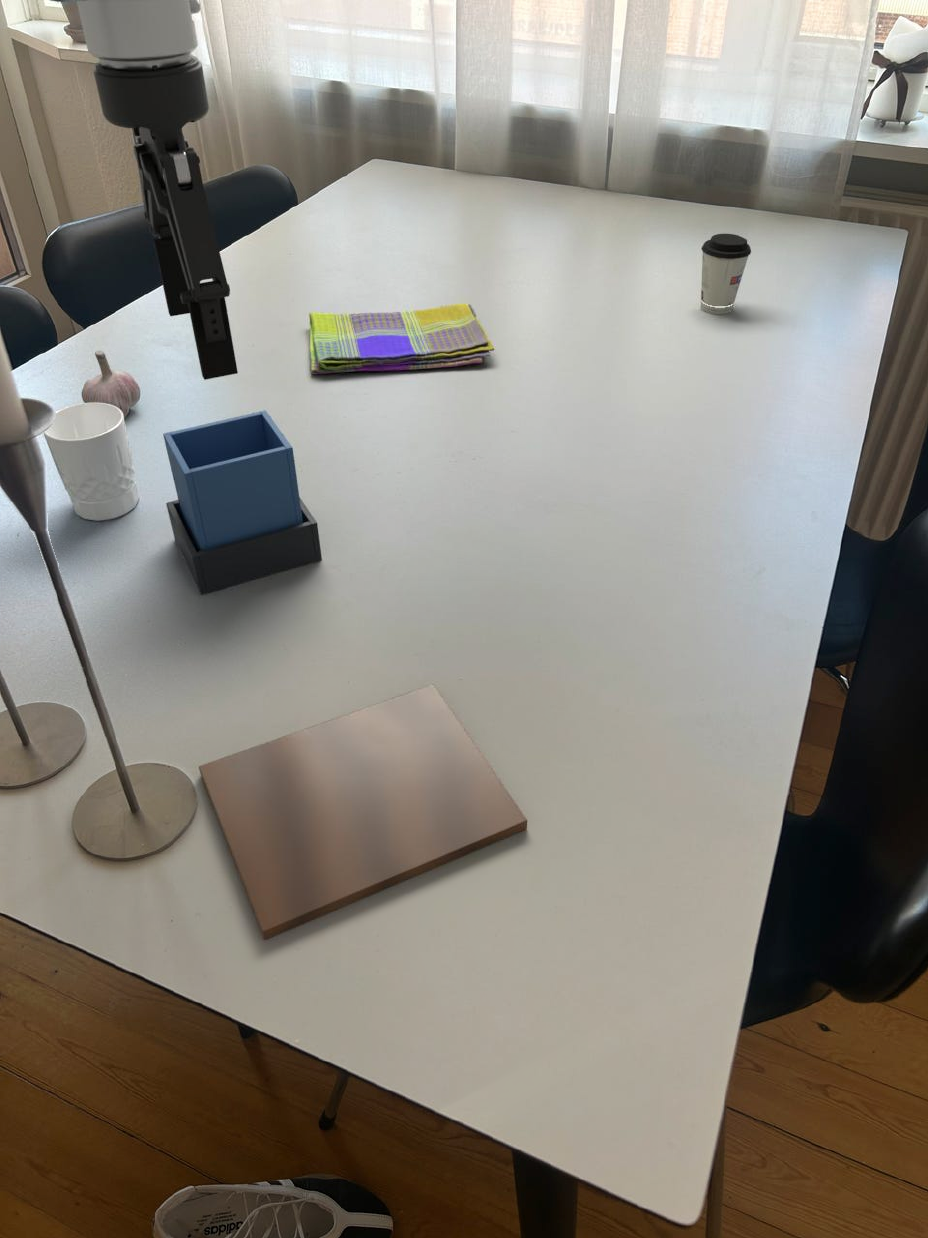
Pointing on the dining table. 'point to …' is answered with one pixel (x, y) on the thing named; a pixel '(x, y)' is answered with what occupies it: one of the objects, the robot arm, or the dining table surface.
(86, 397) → the garlic bulb
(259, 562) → the charcoal bin
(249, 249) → the dining table surface
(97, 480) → the white cup
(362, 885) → the brown wooden flat board
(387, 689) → the dining table surface
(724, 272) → the coffee cup
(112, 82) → the robot arm
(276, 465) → the blue bin
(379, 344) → the dish towel
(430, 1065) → the dining table surface
